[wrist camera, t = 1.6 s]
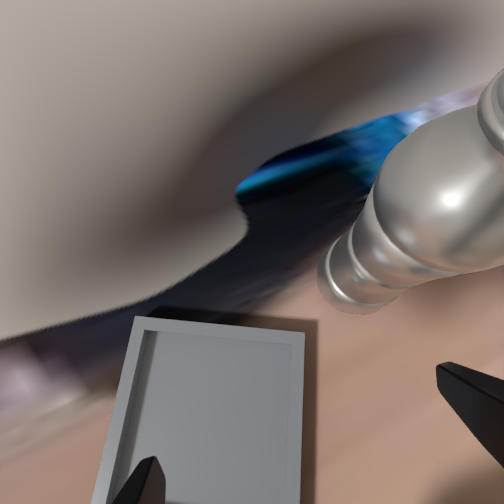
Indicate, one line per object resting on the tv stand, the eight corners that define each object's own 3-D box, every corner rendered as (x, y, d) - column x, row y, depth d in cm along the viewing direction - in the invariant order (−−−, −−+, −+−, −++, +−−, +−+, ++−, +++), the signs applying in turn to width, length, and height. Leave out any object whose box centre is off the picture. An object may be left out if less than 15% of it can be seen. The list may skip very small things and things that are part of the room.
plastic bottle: (296, 282, 25) (410, 67, 6) (343, 233, 26) (553, -63, 7) (354, 334, 23) (764, 265, 4) (400, 278, 25) (856, 45, 6)
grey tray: (302, 333, 23) (304, 332, 22) (295, 547, 19) (298, 564, 17) (142, 318, 24) (135, 316, 23) (97, 518, 19) (84, 532, 18)
